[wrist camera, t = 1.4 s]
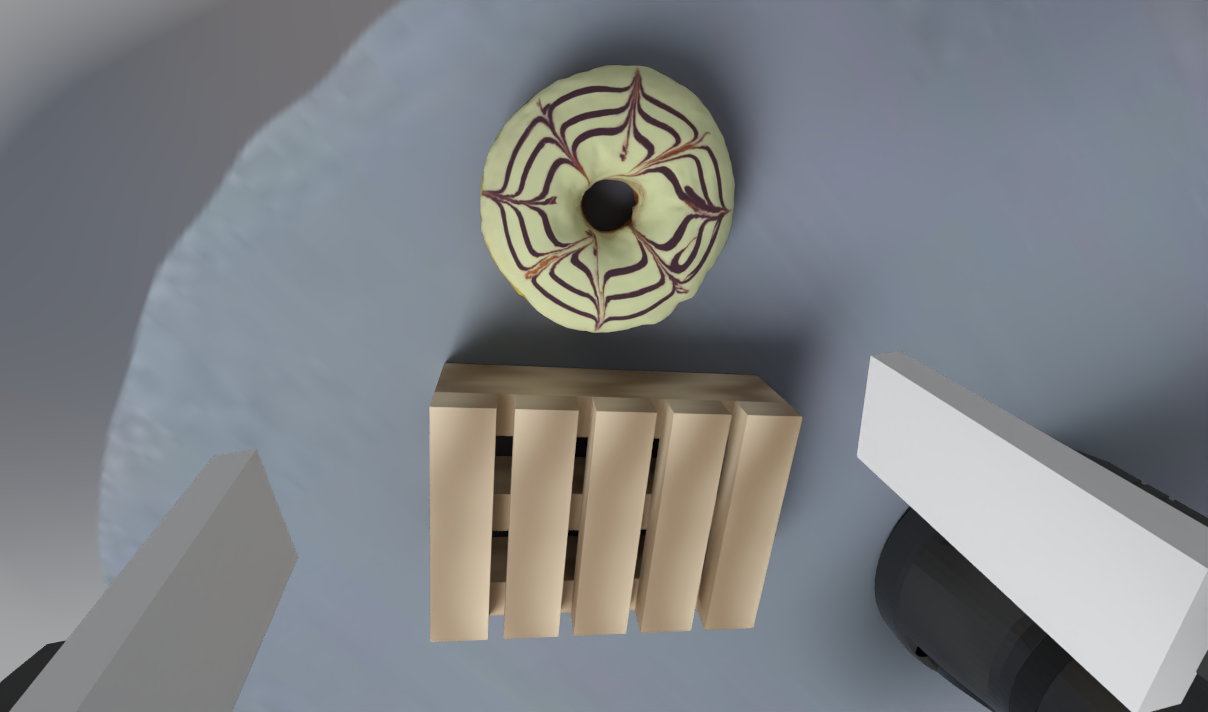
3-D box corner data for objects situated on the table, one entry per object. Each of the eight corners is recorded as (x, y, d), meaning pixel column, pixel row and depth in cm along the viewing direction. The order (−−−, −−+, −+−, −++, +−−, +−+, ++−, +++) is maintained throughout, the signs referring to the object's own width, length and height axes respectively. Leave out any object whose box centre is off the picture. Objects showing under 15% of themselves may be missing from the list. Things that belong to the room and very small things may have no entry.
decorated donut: (756, 220, 27) (792, 230, 23) (582, 356, 28) (593, 386, 24) (629, 19, 23) (650, -5, 20) (434, 185, 24) (421, 190, 21)
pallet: (757, 375, 30) (802, 416, 25) (719, 561, 33) (753, 627, 29) (444, 363, 27) (429, 407, 22) (443, 568, 31) (430, 642, 26)
